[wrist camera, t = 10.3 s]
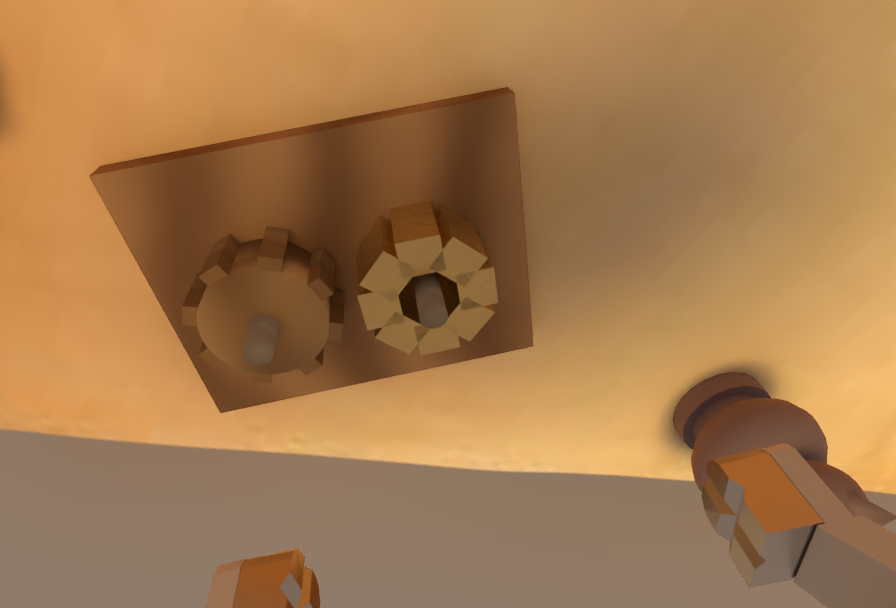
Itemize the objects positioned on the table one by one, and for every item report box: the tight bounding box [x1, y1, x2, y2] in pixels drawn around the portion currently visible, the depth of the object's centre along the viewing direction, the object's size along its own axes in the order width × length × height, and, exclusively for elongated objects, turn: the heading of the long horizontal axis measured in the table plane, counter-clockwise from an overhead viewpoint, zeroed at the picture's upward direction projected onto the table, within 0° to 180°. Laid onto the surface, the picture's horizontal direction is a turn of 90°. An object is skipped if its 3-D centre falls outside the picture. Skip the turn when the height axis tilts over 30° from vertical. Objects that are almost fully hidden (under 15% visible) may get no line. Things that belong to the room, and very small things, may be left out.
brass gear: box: [357, 201, 498, 355], centre depth 25 cm, size 6×6×4 cm
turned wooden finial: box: [673, 373, 896, 526], centre depth 33 cm, size 9×8×12 cm
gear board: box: [89, 87, 533, 413], centre depth 25 cm, size 18×14×6 cm
